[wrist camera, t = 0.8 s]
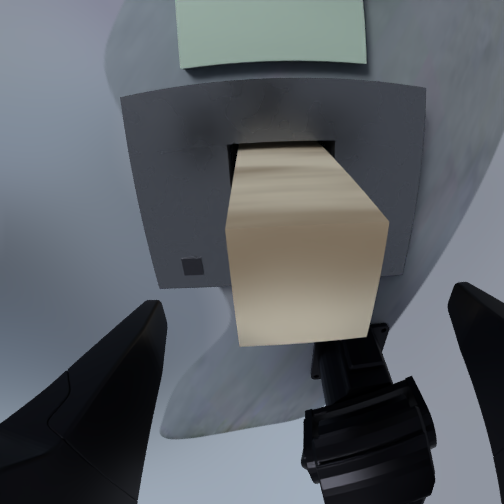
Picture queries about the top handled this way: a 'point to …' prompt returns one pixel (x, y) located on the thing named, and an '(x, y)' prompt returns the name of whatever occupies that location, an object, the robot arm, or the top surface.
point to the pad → (269, 31)
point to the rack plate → (264, 130)
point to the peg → (301, 246)
